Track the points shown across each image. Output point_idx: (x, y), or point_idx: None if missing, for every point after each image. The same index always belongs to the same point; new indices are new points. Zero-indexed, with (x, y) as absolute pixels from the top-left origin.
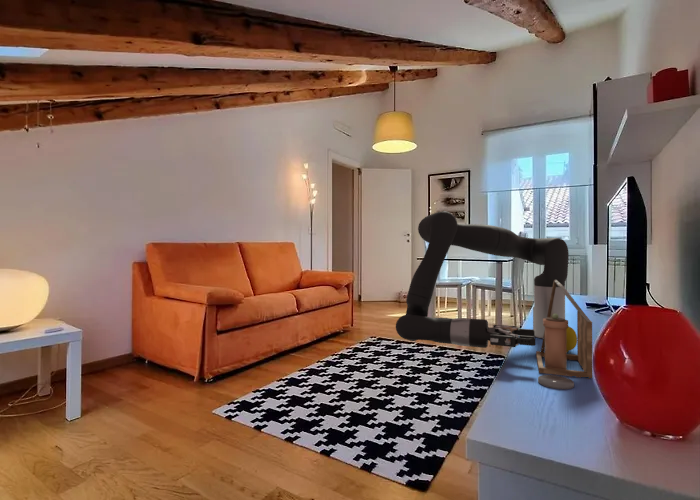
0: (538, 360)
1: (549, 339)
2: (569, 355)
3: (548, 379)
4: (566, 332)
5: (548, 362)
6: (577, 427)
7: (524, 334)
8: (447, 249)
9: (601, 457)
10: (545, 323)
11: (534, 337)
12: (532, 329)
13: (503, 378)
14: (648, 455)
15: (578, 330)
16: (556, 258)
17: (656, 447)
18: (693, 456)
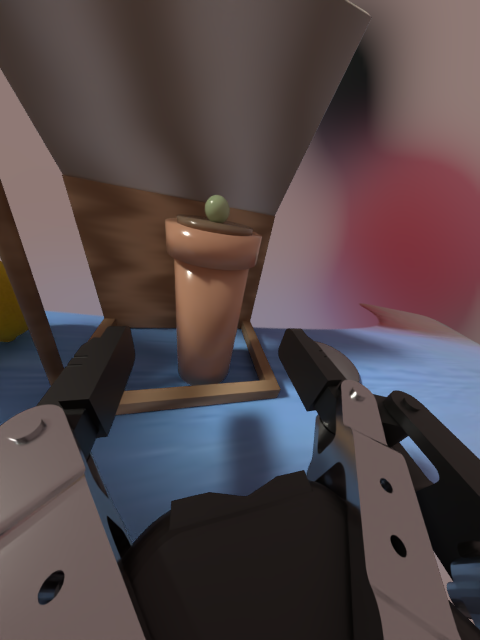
0: (200, 394)
1: (239, 308)
2: None
3: None
4: (5, 276)
5: (226, 367)
6: (436, 352)
7: (117, 388)
8: None
9: (460, 342)
10: (248, 254)
11: (299, 329)
12: (108, 327)
13: None
14: (410, 321)
15: (114, 250)
16: None
17: (390, 316)
18: (377, 306)
